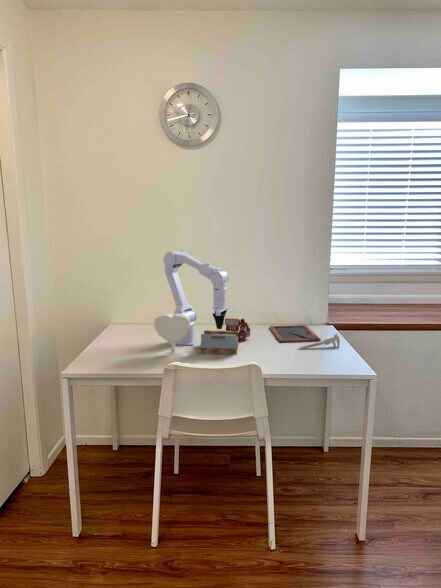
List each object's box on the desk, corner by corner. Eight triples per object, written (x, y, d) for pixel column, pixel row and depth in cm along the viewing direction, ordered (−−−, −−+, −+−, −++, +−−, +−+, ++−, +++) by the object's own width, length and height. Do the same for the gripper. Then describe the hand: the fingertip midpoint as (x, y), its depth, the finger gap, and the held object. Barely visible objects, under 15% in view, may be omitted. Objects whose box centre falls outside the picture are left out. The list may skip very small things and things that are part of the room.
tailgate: (200, 348, 182) (200, 335, 181) (201, 346, 183) (201, 333, 182) (235, 349, 180) (235, 335, 179) (235, 347, 182) (235, 334, 181)
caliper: (338, 346, 193) (339, 333, 192) (339, 347, 192) (340, 334, 191) (297, 349, 189) (297, 336, 188) (298, 350, 188) (298, 337, 187)
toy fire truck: (249, 341, 200) (249, 320, 198) (224, 340, 202) (224, 320, 200) (250, 337, 207) (250, 317, 205) (225, 336, 208) (225, 316, 206)
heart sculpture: (154, 355, 182) (153, 315, 178) (157, 351, 187) (156, 312, 183) (189, 356, 180) (188, 316, 177) (191, 352, 185) (190, 313, 181)
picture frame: (320, 342, 200) (305, 328, 224) (320, 338, 200) (305, 324, 224) (279, 343, 198) (269, 329, 223) (279, 339, 198) (269, 325, 222)
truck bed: (200, 353, 184) (200, 338, 183) (204, 344, 196) (204, 330, 195) (236, 354, 183) (236, 339, 181) (238, 345, 194) (238, 331, 193)
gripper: (227, 301, 177) (227, 332, 180) (230, 294, 191) (230, 323, 194) (211, 301, 178) (211, 331, 180) (214, 294, 192) (215, 322, 195)
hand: (219, 327), depth 187 cm, fingers open, 4 cm apart
